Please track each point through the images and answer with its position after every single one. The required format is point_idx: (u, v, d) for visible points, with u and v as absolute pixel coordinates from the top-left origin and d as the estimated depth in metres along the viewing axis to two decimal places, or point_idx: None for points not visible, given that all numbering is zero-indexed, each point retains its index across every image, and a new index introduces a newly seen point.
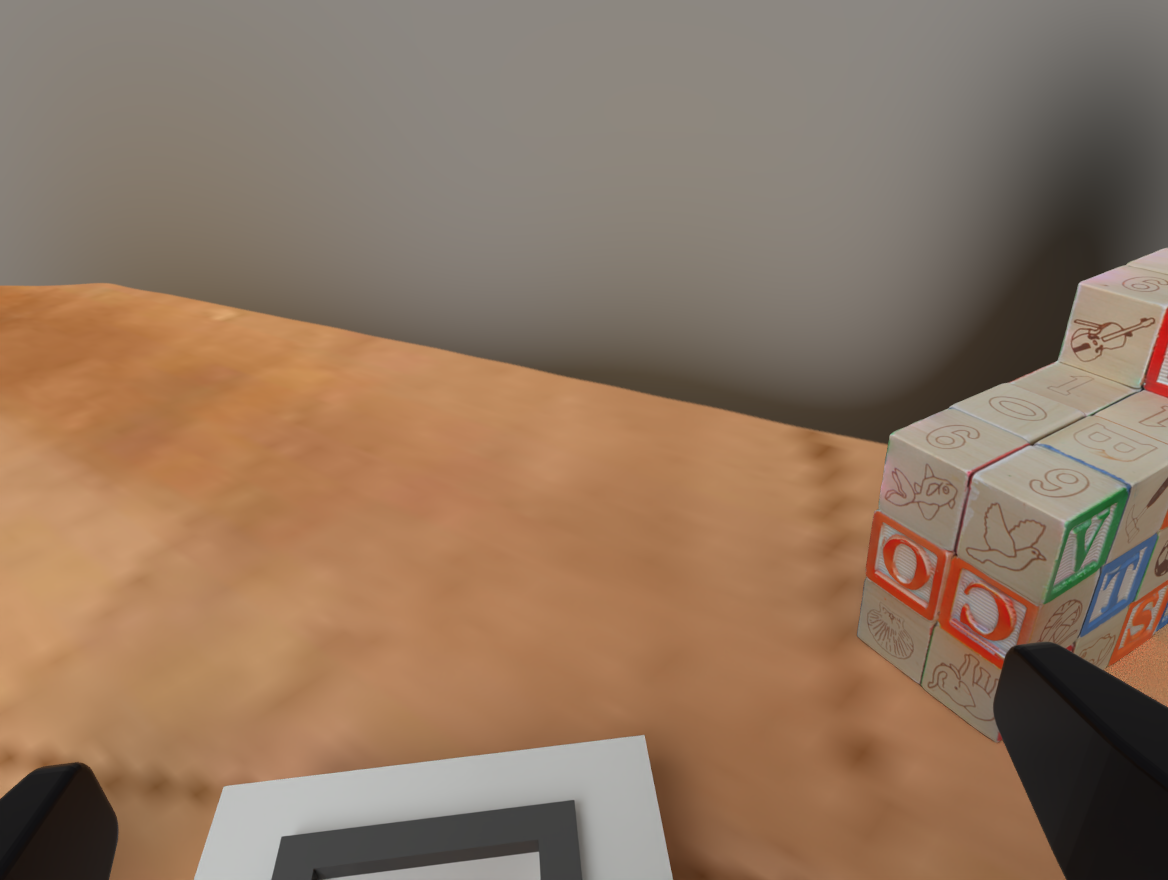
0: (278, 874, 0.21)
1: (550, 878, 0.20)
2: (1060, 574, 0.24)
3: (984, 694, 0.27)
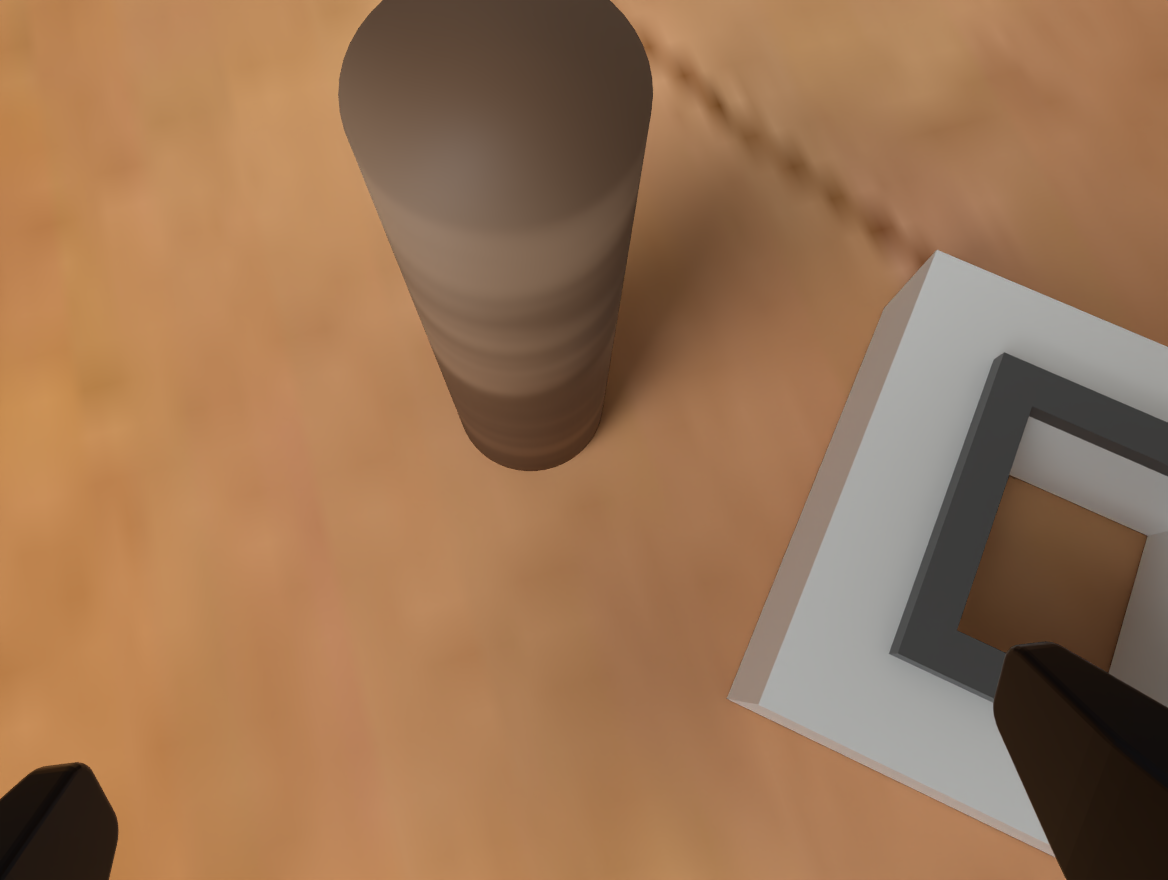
0: (994, 391, 0.19)
1: None
2: None
3: None
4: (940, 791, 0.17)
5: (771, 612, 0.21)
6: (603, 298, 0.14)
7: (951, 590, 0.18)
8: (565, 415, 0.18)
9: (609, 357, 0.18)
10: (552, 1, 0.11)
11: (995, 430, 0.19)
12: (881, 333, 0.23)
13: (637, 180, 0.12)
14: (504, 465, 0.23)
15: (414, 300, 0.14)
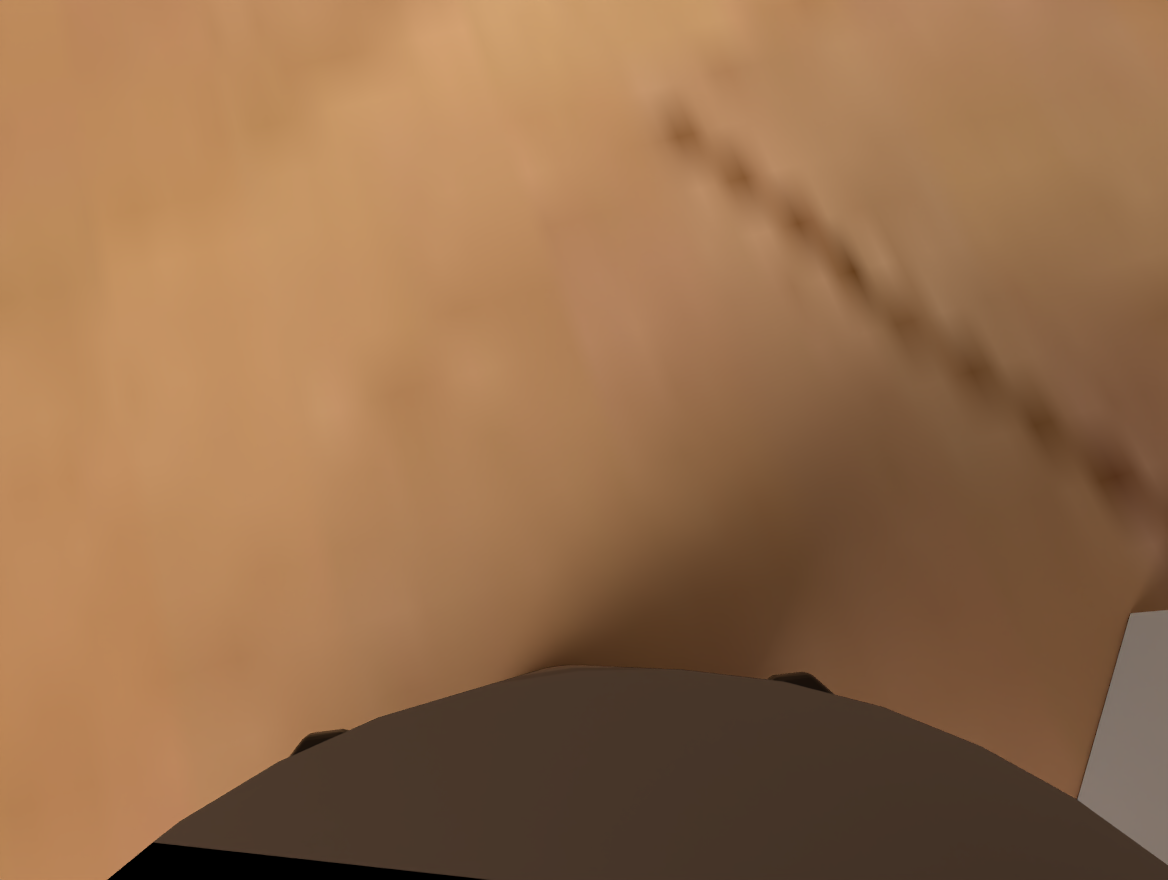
0: None
1: None
2: None
3: None
4: None
5: None
6: None
7: None
8: None
9: None
10: None
11: None
12: (1150, 685, 0.14)
13: None
14: None
15: None
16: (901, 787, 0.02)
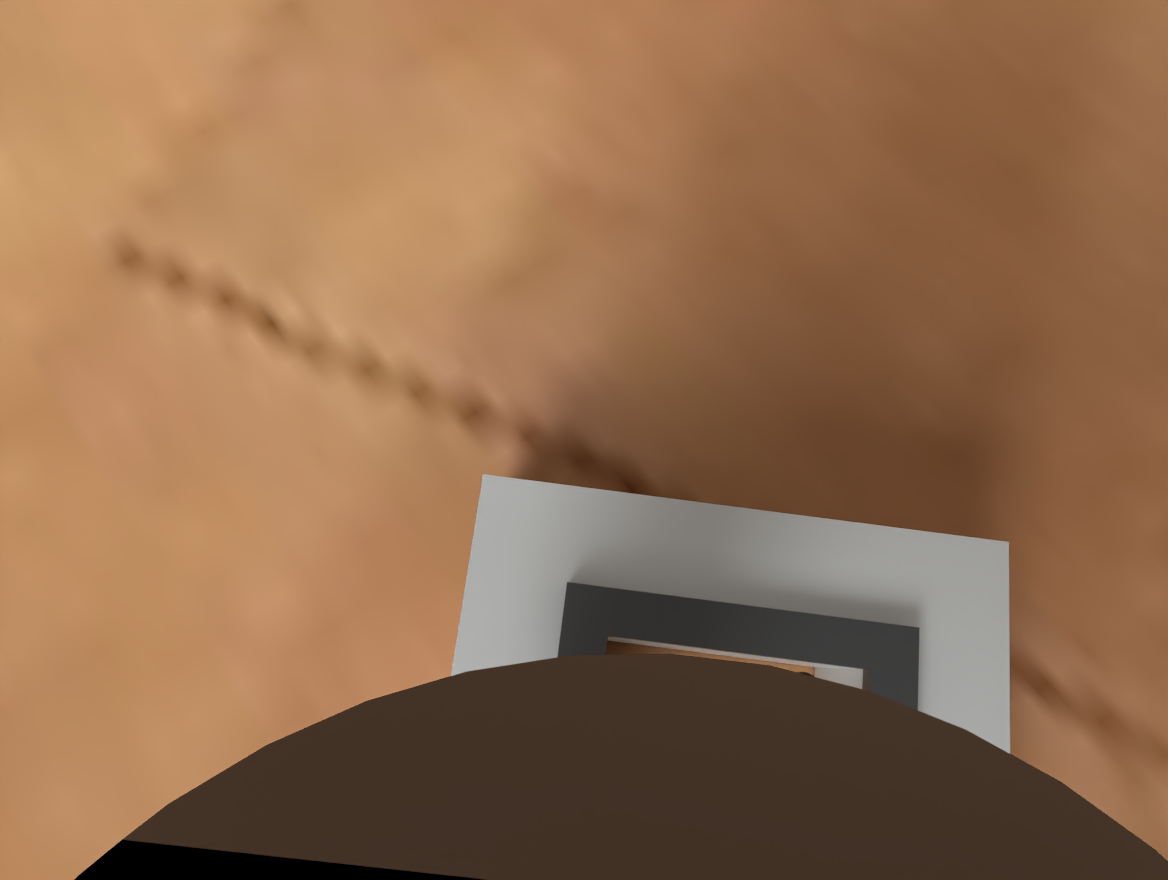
0: (566, 630, 0.18)
1: None
2: None
3: None
4: None
5: None
6: None
7: None
8: None
9: None
10: None
11: None
12: None
13: None
14: None
15: None
16: (887, 769, 0.02)
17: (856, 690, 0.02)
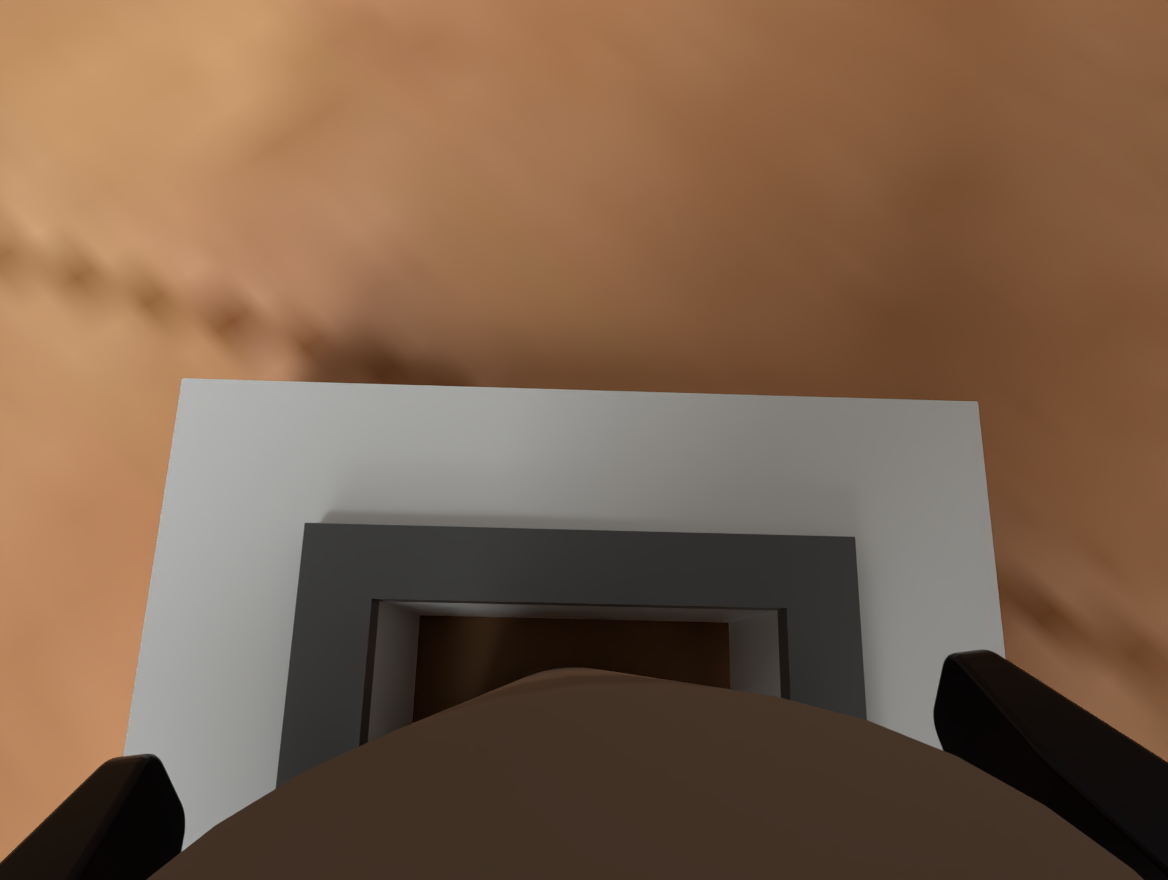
0: (306, 596, 0.11)
1: (807, 689, 0.11)
2: None
3: None
4: None
5: None
6: None
7: None
8: None
9: None
10: None
11: (318, 670, 0.11)
12: None
13: None
14: None
15: None
16: (883, 794, 0.02)
17: (852, 718, 0.02)
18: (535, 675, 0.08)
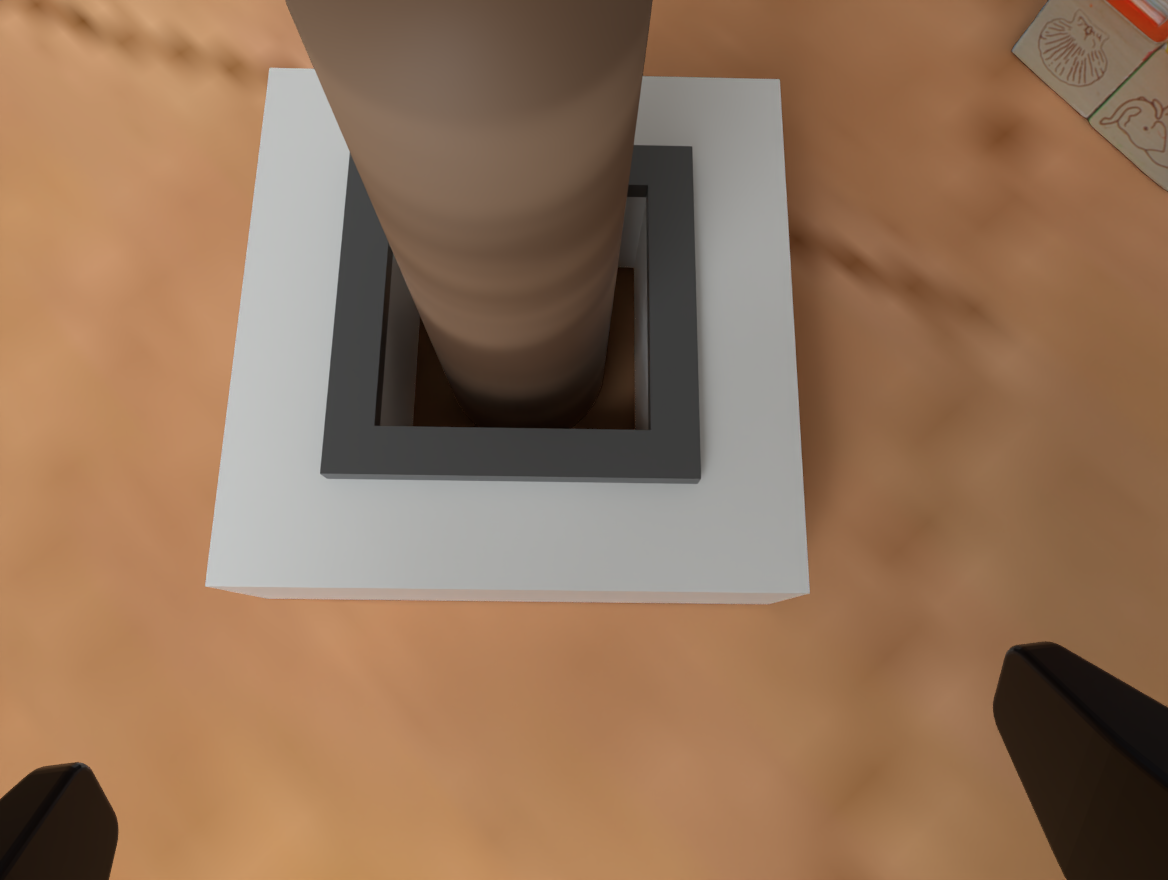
0: (352, 180, 0.18)
1: (659, 228, 0.18)
2: None
3: None
4: (415, 587, 0.16)
5: None
6: (602, 227, 0.12)
7: (358, 389, 0.17)
8: (563, 374, 0.17)
9: (610, 308, 0.16)
10: None
11: (361, 218, 0.18)
12: None
13: (639, 72, 0.10)
14: None
15: (387, 234, 0.13)
16: None
17: None
18: None
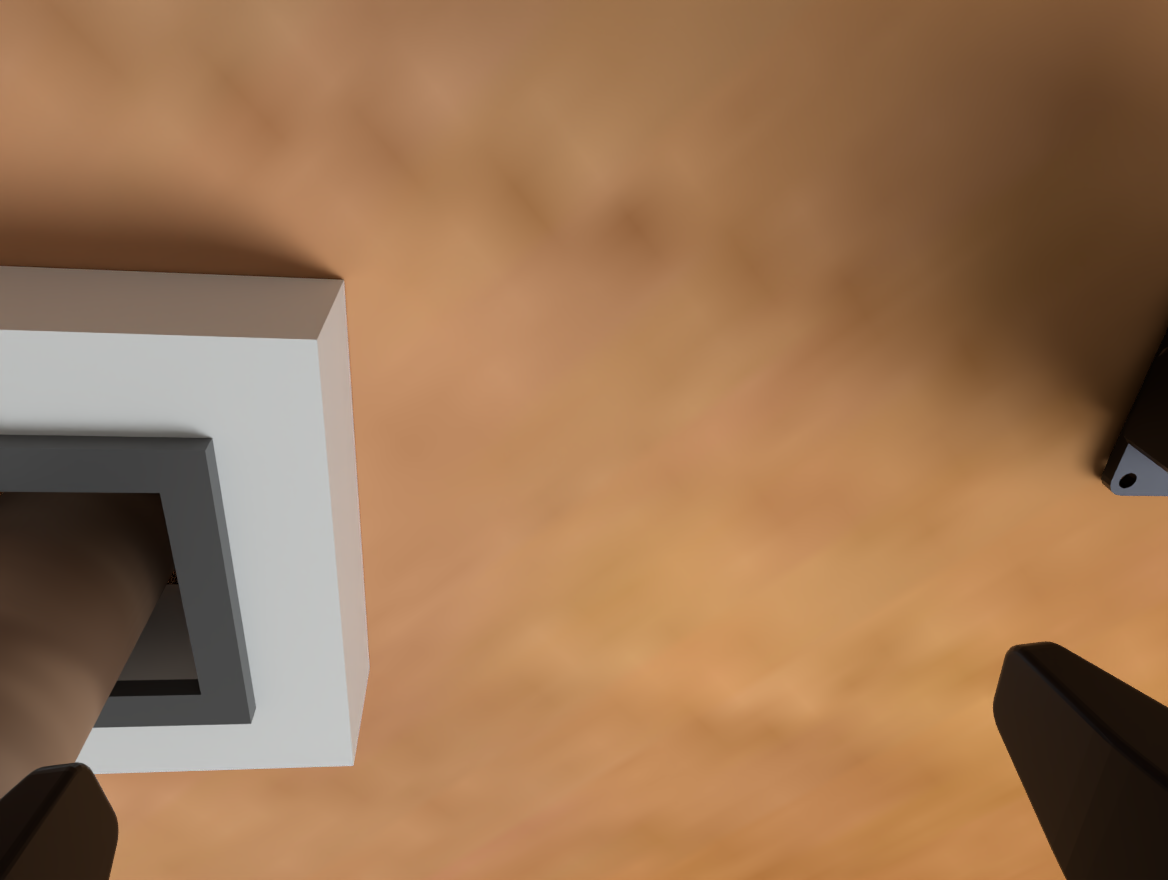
0: None
1: None
2: None
3: None
4: (342, 647, 0.20)
5: None
6: None
7: (169, 707, 0.19)
8: (115, 577, 0.17)
9: (28, 562, 0.16)
10: None
11: None
12: None
13: None
14: None
15: None
16: None
17: None
18: None
